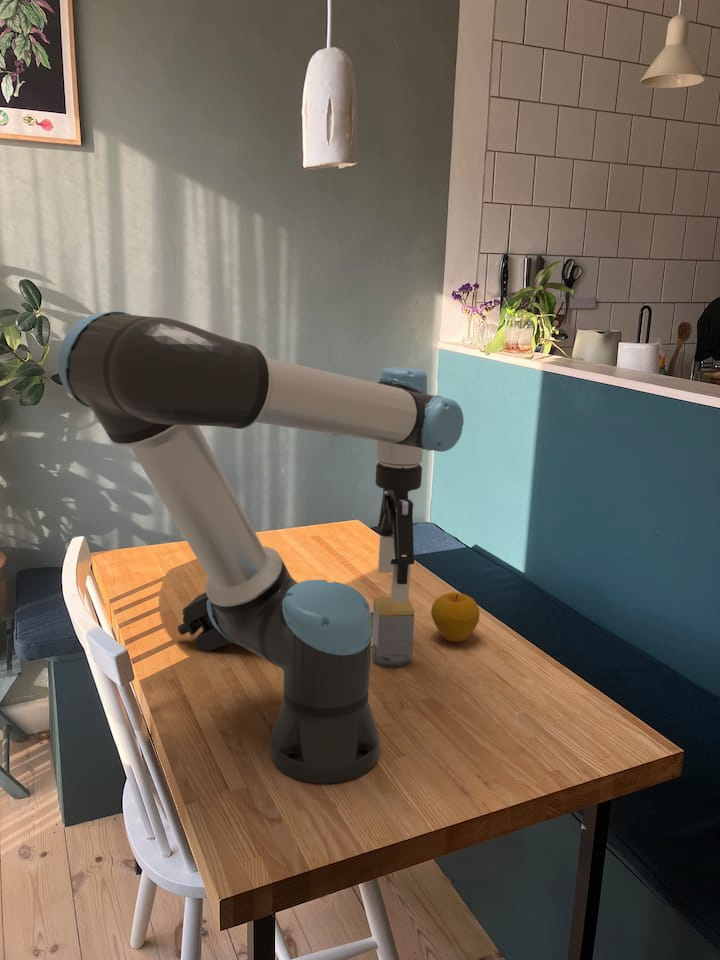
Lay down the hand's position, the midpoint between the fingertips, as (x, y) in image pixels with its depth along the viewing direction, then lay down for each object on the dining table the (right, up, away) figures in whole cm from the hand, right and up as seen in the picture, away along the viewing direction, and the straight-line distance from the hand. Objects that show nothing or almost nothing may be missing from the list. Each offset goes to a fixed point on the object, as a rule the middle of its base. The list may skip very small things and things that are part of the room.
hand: (392, 585), depth 136 cm
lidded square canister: (0, -11, +3) cm, 12 cm away
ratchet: (-1, -12, +9) cm, 15 cm away
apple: (+12, -12, +12) cm, 20 cm away
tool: (-28, -12, +6) cm, 31 cm away
